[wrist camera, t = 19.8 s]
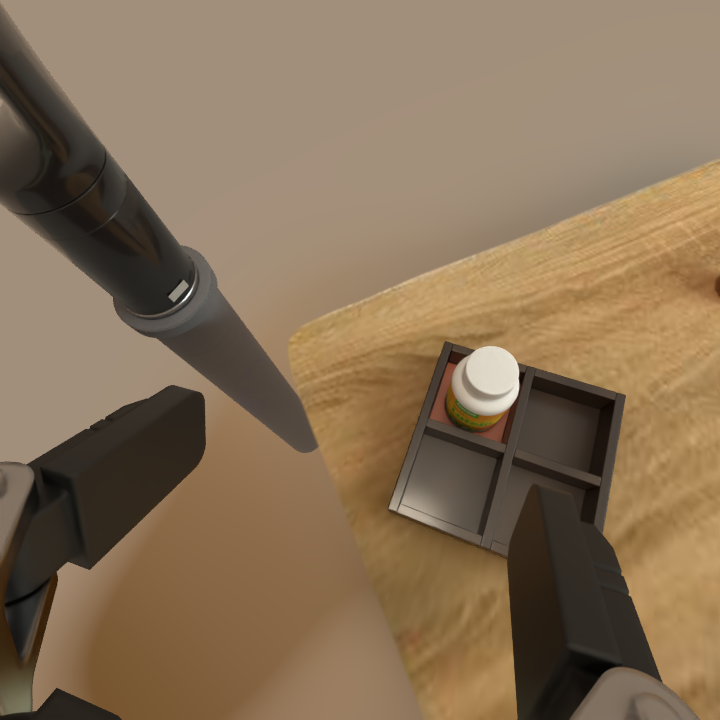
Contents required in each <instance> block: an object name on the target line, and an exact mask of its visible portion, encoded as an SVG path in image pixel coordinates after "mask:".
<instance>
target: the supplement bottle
mask: <svg viewBox="0 0 720 720" xmlns="http://www.w3.org/2000/svg"><path fill="white" fill-rule="evenodd" d="M518 378H519V367H518V364H517V362H516V360H515V358H514V357H513V356H512V355H511V354H510V353H509V352H507V351H506V350H504V349H502V348H499V347H495V346H486V347H482V348H479V349H477V350H475V351H474V352H473V353H472V354H471V355H469V356H467V357H465V358H464V359H463V360H461V361H460V362H459V364H458V365H457V366H456V368H455V370H454V372H453V375H452V377H451V381H450V384H449V387H448V391H447V393H446V397H445V409H446V413H447V415H448V417H449V419H450V420H451V421H452V422H453V423H454V424H455V425H456V426H457V427H459V428H460V429H462V430H465V431H468V432H482V431H485V430H488V429H490V428H491V427H492V426H494V425H495V424H496V423H497V422H498V420H499V419H500V418H501V417H502V416H503V414H504V413H505V412H506V411H507V410H508V409H509V408H510V406H511V405H512V404H513V403H514V401H515V400H516V398H517V395H518V392H519V379H518Z"/></svg>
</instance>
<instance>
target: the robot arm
mask: <svg viewBox="0 0 720 720" xmlns="http://www.w3.org/2000/svg"><path fill="white" fill-rule="evenodd" d="M0 99H1V100H2V101H3V103H2V105H1V107H0V204H1V205H2V206H4V207H5V208H6V209H7V210H9V211H10V212H11V213H12V214H13V215H15V216H16V217H17V218H18V219H20V220H21V221H22V222H23V223H24V224H26V225H27V226H28V227H29V228H31V229H32V230H33V231H34V232H35V233H37V234H38V235H39V236H40V237H42V238H43V239H44V240H45V241H46V242H48V243H49V244H50V245H51V246H53V247H54V248H55V249H56V250H57V251H58V252H60V253H61V254H62V255H63V256H65V257H66V258H67V259H68V260H69V261H71V262H72V263H73V264H74V265H75V266H77V267H78V268H79V269H80V270H81V271H83V272H84V273H85V274H86V275H87V276H89V277H90V278H91V279H92V280H93V281H95V282H96V283H97V284H98V285H100V286H101V287H102V288H103V289H104V290H106V291H107V292H108V293H109V294H110V295H111V296H113V297H114V298H115V299H116V300H117V301H119V302H120V303H121V304H122V305H123V306H124V307H125V308H126V309H127V310H128V311H129V312H130V313H132V314H133V315H134V316H136V317H138V318H141V319H146V320H159V319H163V318H167V317H169V316H172V315H174V314H176V313H177V312H179V311H180V310H182V309H183V308H184V307H185V306H187V305H188V304H189V302H190V301H191V300H192V299H193V297H194V296H195V294H196V292H197V289H198V286H199V281H200V275H199V270H198V268H197V266H196V264H195V263H194V261H193V260H192V259H191V257H190V256H189V255H187V254H186V252H185V251H184V250H183V248H182V247H181V246H180V244H179V243H178V242H177V240H176V239H175V238H174V236H173V235H172V234H171V232H170V231H169V230H168V228H167V227H166V226H165V225H164V223H163V222H162V221H161V219H160V218H159V217H158V215H157V214H156V213H155V212H154V210H153V209H152V208H151V207H150V205H149V204H148V203H147V201H146V200H145V199H144V197H143V196H142V195H141V193H140V192H139V191H138V189H137V188H136V187H135V186H134V184H133V183H132V182H131V180H130V179H129V178H128V177H127V175H126V174H125V172H124V171H123V170H122V169H121V168H120V166H119V165H118V164H117V162H116V161H115V160H114V158H113V157H112V156H111V154H110V153H109V152H108V151H107V149H106V148H105V147H104V145H103V144H102V143H101V141H100V140H99V138H98V137H97V136H96V135H95V133H94V132H93V131H92V129H91V128H90V127H89V125H88V124H87V123H86V121H85V120H84V119H83V117H82V116H81V114H80V113H79V112H78V110H77V109H76V107H75V106H74V105H73V103H72V102H71V100H70V99H69V98H68V96H67V95H66V94H65V92H64V91H63V90H62V88H61V87H60V86H59V84H58V83H57V82H56V81H55V79H54V78H53V76H52V75H51V74H50V72H49V71H48V70H47V68H46V67H45V66H44V64H43V63H42V61H41V60H40V58H39V57H38V56H37V55H36V53H35V52H34V50H33V49H32V47H31V46H30V44H29V43H28V42H27V40H26V39H25V37H24V36H23V35H22V33H21V31H20V30H19V29H18V27H17V26H16V24H15V23H14V21H13V20H12V18H11V17H10V16H9V14H8V13H7V11H6V10H5V8H4V7H3V5H2V4H1V2H0ZM205 445H206V437H205V400H204V396H203V395H202V393H200V392H197V391H193V390H190V389H186V388H182V387H178V386H175V385H171V386H168V387H166V388H165V389H163V390H161V391H160V392H158V393H157V394H155V395H153V396H152V397H150V398H148V399H144V400H141V401H138V402H135V403H132V404H129V405H125V406H123V407H121V408H120V409H118V410H116V411H115V412H113V413H112V414H110V415H108V416H106V418H105V420H103V419H102V420H100V421H98V422H97V423H95V424H93V425H91V426H90V429H85V430H83V431H82V432H80V433H78V434H77V435H75V436H74V437H72V438H70V439H68V440H67V441H65V442H64V443H62V444H60V445H58V446H57V447H55V448H53V449H52V450H50V451H48V452H47V453H45V454H43V455H42V456H40V457H38V458H37V459H35V460H33V461H32V462H30V463H28V464H27V465H25V464H22V463H18V462H0V720H121V719H120V717H118V716H117V715H115V714H113V713H111V712H109V711H106V710H104V709H102V708H100V707H98V706H95V705H93V704H91V703H89V702H87V701H84V700H82V699H80V698H78V697H76V696H73V695H71V694H69V693H66V692H65V691H62V690H60V689H58V688H56V689H55V690H54V692H53V693H52V694H51V695H50V696H49V697H48V699H47V700H46V701H45V702H44V703H43V704H42V706H41V707H40V708H39V709H38V710H37V711H33V712H32V684H33V676H34V671H35V667H36V663H37V659H38V656H39V652H40V648H41V644H42V640H43V637H44V633H45V629H46V625H47V621H48V617H49V614H50V610H51V606H52V602H53V598H54V595H55V591H56V587H57V582H58V576H57V571H58V570H59V569H60V568H61V567H62V566H63V565H64V564H65V563H67V562H70V563H73V564H76V565H78V566H81V567H83V568H86V569H89V570H90V569H91V568H92V567H93V566H94V565H95V564H96V563H97V562H98V561H99V560H100V559H101V558H102V557H103V556H105V555H106V554H107V553H108V552H109V551H110V550H111V549H112V548H113V547H114V546H115V545H116V544H117V543H118V542H119V541H120V540H121V539H122V538H123V537H124V536H125V535H126V534H127V533H128V532H129V531H131V530H132V528H134V527H135V526H136V525H137V524H138V523H139V522H140V521H141V520H142V519H143V518H144V517H145V516H146V515H147V514H148V513H149V512H150V511H151V510H152V509H153V508H154V507H155V506H156V505H157V504H158V503H159V502H161V501H162V500H163V499H164V498H165V497H166V496H167V495H168V494H169V493H170V492H171V491H172V490H173V489H174V488H175V487H176V486H177V485H178V484H179V483H180V482H181V481H182V480H183V479H184V478H185V477H186V476H187V475H188V474H190V473H191V472H192V470H194V468H196V467H197V465H198V464H199V462H200V461H201V459H202V456H203V454H204V450H205ZM507 566H508V581H509V596H510V610H511V625H512V640H513V654H514V669H515V684H516V699H517V713H518V720H700V719H699V718H698V717H697V715H696V714H695V713H694V712H693V710H692V709H691V708H690V707H689V706H688V705H687V704H686V703H685V702H684V701H683V700H682V699H681V698H680V697H679V696H678V695H677V694H676V693H675V692H674V691H672V690H671V689H670V688H668V687H667V686H666V685H665V684H663V682H662V680H661V677H660V675H659V672H658V669H657V666H656V664H655V661H654V658H653V656H652V653H651V650H650V647H649V645H648V642H647V639H646V636H645V634H644V631H643V628H642V626H641V623H640V620H639V617H638V615H637V612H636V609H635V606H634V604H633V601H632V598H631V597H630V596H629V595H628V593H629V590H628V587H627V585H626V582H625V579H624V577H623V576H621V572H622V571H621V568H620V566H619V563H618V560H617V557H616V555H615V552H614V549H613V547H612V546H611V545H610V543H609V542H608V541H607V540H606V538H605V537H604V536H603V535H602V533H601V532H600V531H599V530H598V528H597V527H596V526H595V525H593V524H589V523H585V522H582V521H580V518H579V514H578V511H577V508H576V504H575V501H574V498H573V496H572V494H571V493H568V492H564V491H561V490H557V489H553V488H550V487H546V486H542V485H538V484H535V483H534V484H532V486H531V487H530V489H529V491H528V494H527V496H526V499H525V502H524V504H523V507H522V509H521V512H520V515H519V517H518V520H517V523H516V525H515V528H514V531H513V533H512V536H511V540H510V544H509V550H508V560H507Z"/></svg>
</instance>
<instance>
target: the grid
mask: <svg viewBox="0 0 720 720" xmlns="http://www.w3.org/2000/svg"><path fill="white" fill-rule="evenodd" d="M474 351H475V350H473V349H469V348H466V347H463V346H459V345H456V344H453V343H450V342H446V341H445V343H444V346H443V349H442V351H441V354H440V357H439V360H438V363H437V366H436V369H435V372H434V375H433V378H432V381H431V384H430V387H429V390H428V392H427V395H426V398H425V401H424V404H423V407H422V410H421V413H420V416H419V419H418V422H417V425H416V428H415V430H414V433H413V436H412V439H411V442H410V445H409V448H408V451H407V454H406V457H405V460H404V463H403V466H402V469H401V471H400V474H399V477H398V480H397V483H396V486H395V489H394V492H393V495H392V498H391V501H390V504H389V507H388V510H389V511H390V512H392V513H395V514H397V515H400V516H402V517H405V518H407V519H410V520H412V521H414V522H417V523H419V524H422V525H424V526H427V527H429V528H432V529H434V530H437V531H439V532H442V533H444V534H447V535H449V536H452V537H454V538H457V539H459V540H462V541H464V542H467V543H469V544H472V545H474V546H477V547H479V548H482V549H484V550H487V551H489V552H492V553H494V554H497V555H499V556H501V557H504V558H506V559H508V550H509V544H510V540H511V536H512V533H513V531H514V528H515V525H516V523H517V520H518V517H519V515H520V512H521V509H522V507H523V504H524V502H525V499H526V496H527V494H528V491H529V489H530V487H531V486H532V484H534V483H535V484H538V485H542V486H546V487H550V488H553V489H557V490H561V491H564V492H568V493H571V494H572V496H573V498H574V501H575V504H576V508H577V511H578V514H579V518H580V521H582V522H585V523H589V524H593V525H595V526H596V527H597V528H598V530H599V531H600V532H601V533H602V535H603V529H604V523H605V517H606V511H607V505H608V499H609V493H610V487H611V481H612V475H613V469H614V463H615V457H616V451H617V445H618V439H619V433H620V428H621V422H622V416H623V410H624V404H625V398H626V395H623V394H620V393H616V392H614V391H610V390H607V389H604V388H600V387H597V386H594V385H590V384H587V383H584V382H580V381H577V380H574V379H570V378H567V377H563V376H560V375H557V374H553V373H550V372H547V371H543V370H540V369H537V368H536V369H535V368H533V367H530V366H526V365H523V364H520V363H517V364H518V367H519V378H518V379H519V392H518V395H517V398H516V400H515V401H514V403H513V404H512V405H511V406H510V408H509V409H508V410H507V411H506V412H505V413H504V414H503V416H502V417H501V418H500V419H499V420H498V422H497V423H496V424H495V425H494V426H492V427H491V428H490V429H488V430H485V431H482V432H468V431H465V430H462V429H460V428H459V427H457V426H456V425H455V424H454V423H453V422H452V421H451V420H450V419H449V417H448V415H447V413H446V409H445V397H446V393H447V391H448V387H449V384H450V381H451V377H452V375H453V372H454V370H455V368H456V366H457V365H458V364H459V362H460V361H461V360H463V359H464V358H465V357H467V356H469V355H471V354H472V353H473V352H474Z"/></svg>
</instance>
